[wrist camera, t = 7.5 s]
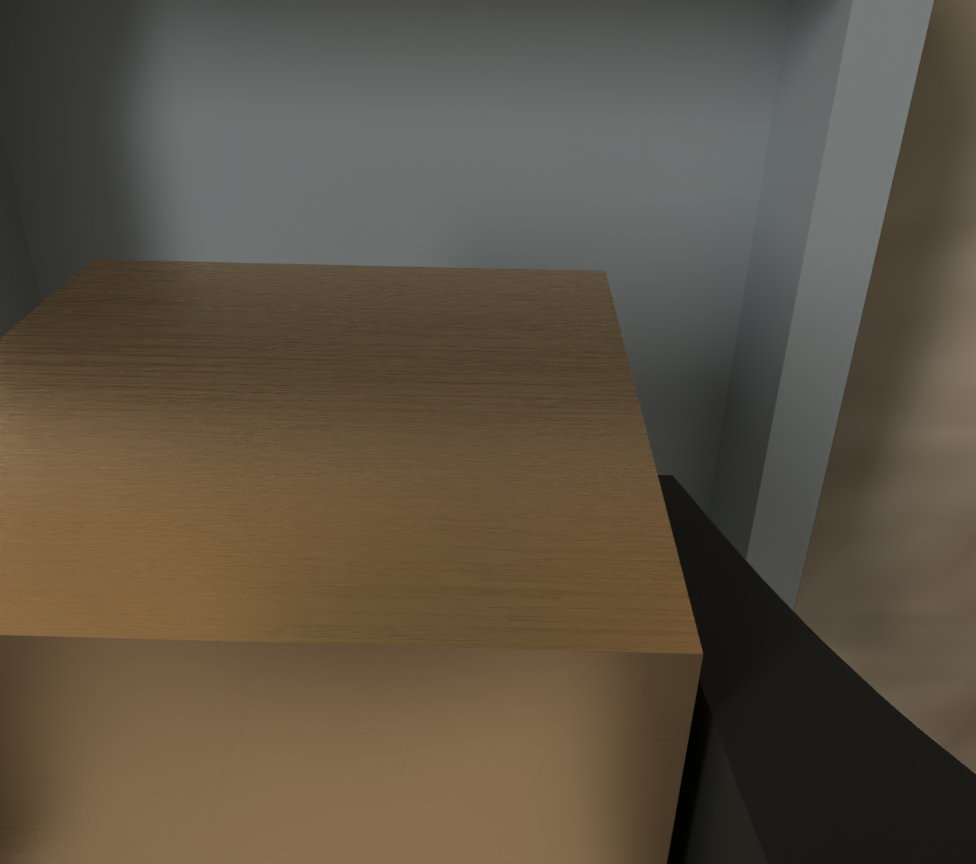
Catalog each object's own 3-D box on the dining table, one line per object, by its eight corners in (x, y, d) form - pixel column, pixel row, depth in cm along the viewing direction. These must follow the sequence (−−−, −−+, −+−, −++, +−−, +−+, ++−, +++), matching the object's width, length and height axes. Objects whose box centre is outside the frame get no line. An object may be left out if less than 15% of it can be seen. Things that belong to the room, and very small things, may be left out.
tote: (722, 620, 17) (761, 749, 14) (92, 604, 17) (17, 730, 15) (856, -114, 11) (960, -119, 9) (-90, -131, 11) (-267, -141, 9)
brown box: (573, 656, 12) (616, 1159, 7) (170, 645, 12) (-54, 1136, 7) (605, 270, 9) (703, 653, 5) (92, 259, 9) (-337, 625, 5)
